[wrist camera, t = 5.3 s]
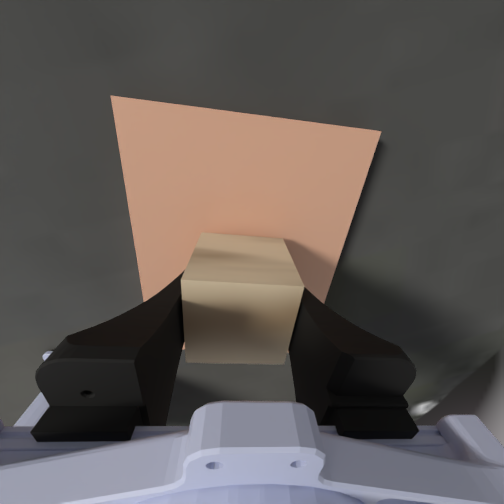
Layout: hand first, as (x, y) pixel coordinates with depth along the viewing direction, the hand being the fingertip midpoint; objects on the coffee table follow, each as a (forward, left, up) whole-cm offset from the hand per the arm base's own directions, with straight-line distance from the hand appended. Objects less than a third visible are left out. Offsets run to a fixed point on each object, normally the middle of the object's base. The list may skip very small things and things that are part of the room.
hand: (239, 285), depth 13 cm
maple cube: (0, 0, -2) cm, 2 cm away
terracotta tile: (0, 0, -4) cm, 4 cm away
